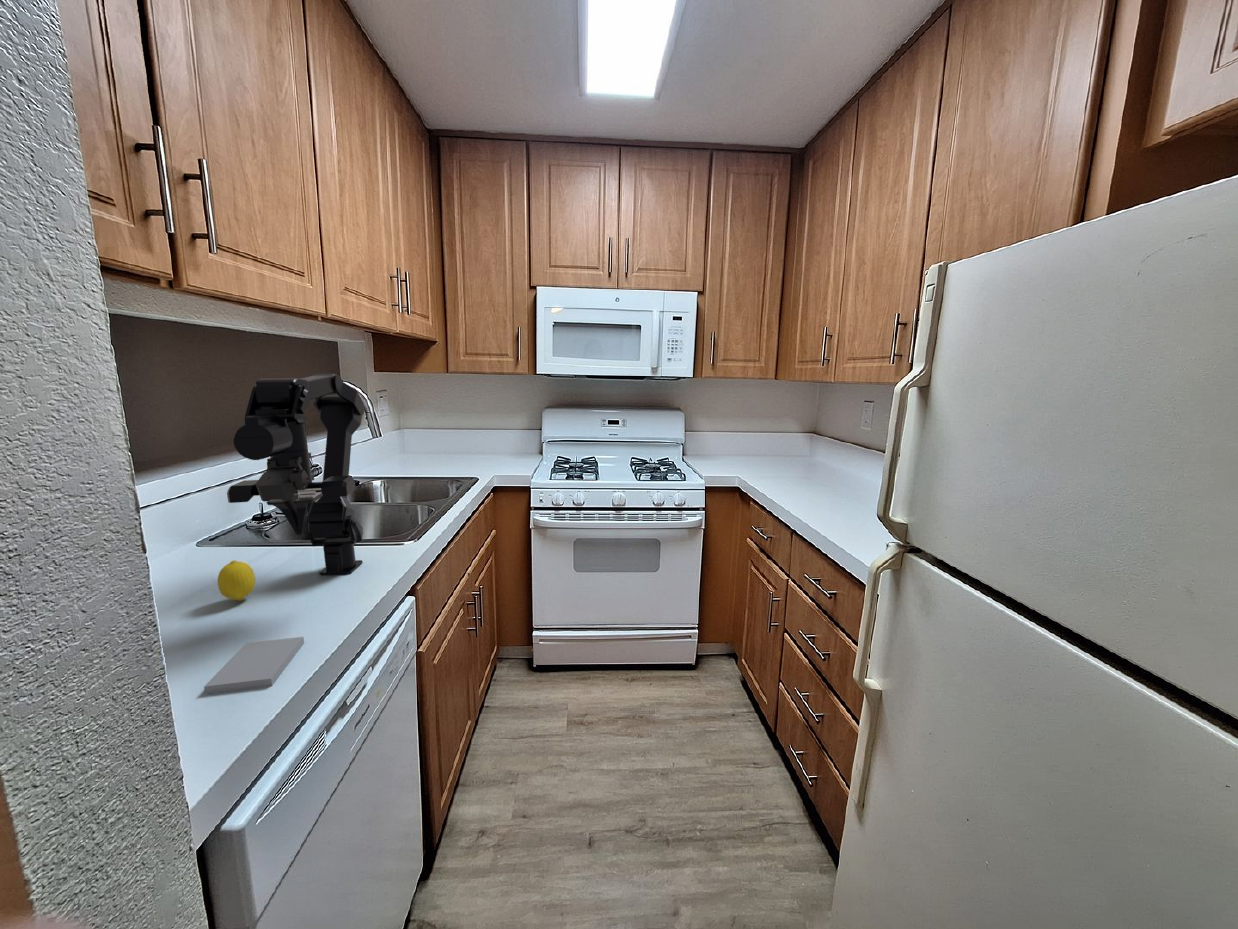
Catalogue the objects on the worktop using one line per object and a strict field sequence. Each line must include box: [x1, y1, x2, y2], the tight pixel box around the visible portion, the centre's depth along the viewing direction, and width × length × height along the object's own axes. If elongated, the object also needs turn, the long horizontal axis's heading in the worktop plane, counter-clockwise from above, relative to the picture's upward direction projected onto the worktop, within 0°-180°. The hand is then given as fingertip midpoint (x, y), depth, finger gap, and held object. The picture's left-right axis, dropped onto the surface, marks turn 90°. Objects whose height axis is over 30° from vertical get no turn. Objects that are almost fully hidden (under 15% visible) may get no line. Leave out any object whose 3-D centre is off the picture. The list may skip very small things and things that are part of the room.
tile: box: [203, 636, 305, 694], centre depth 72 cm, size 2×8×11 cm
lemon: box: [217, 559, 256, 602], centre depth 92 cm, size 6×6×8 cm
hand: (300, 534), depth 91 cm, fingers closed
